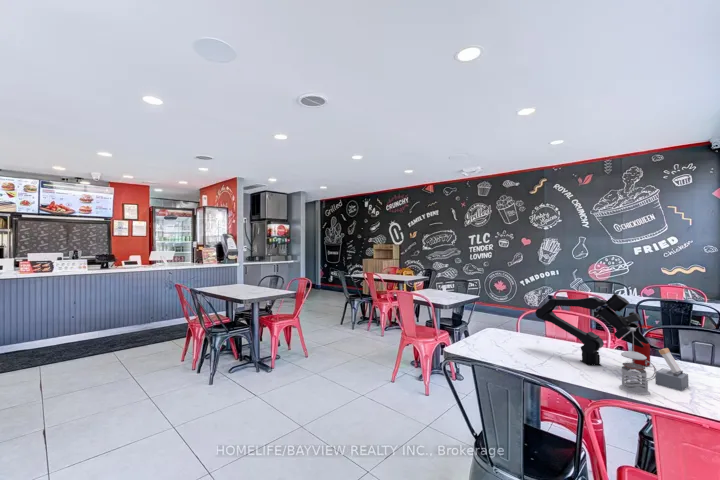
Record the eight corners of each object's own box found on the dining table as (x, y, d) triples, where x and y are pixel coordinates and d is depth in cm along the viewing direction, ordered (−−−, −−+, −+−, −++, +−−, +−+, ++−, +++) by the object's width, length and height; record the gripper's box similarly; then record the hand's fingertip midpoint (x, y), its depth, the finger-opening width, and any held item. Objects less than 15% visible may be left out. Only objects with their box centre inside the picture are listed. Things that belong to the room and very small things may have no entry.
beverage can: (643, 362, 162) (642, 338, 162) (654, 367, 155) (653, 342, 156) (628, 361, 163) (628, 338, 163) (639, 366, 156) (638, 341, 156)
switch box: (655, 384, 135) (655, 369, 135) (662, 379, 140) (662, 365, 140) (681, 391, 128) (681, 375, 128) (688, 386, 133) (688, 371, 133)
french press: (616, 383, 136) (615, 323, 136) (652, 389, 130) (651, 327, 131) (621, 391, 127) (619, 328, 128) (660, 398, 121) (658, 332, 122)
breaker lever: (674, 375, 131) (658, 350, 136) (678, 373, 134) (662, 348, 139) (679, 374, 130) (663, 349, 134) (683, 372, 133) (667, 347, 137)
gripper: (620, 308, 143) (656, 337, 134) (631, 304, 155) (665, 330, 145) (601, 325, 149) (634, 353, 139) (613, 320, 160) (644, 345, 150)
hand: (645, 345), depth 143 cm, fingers open, 9 cm apart
